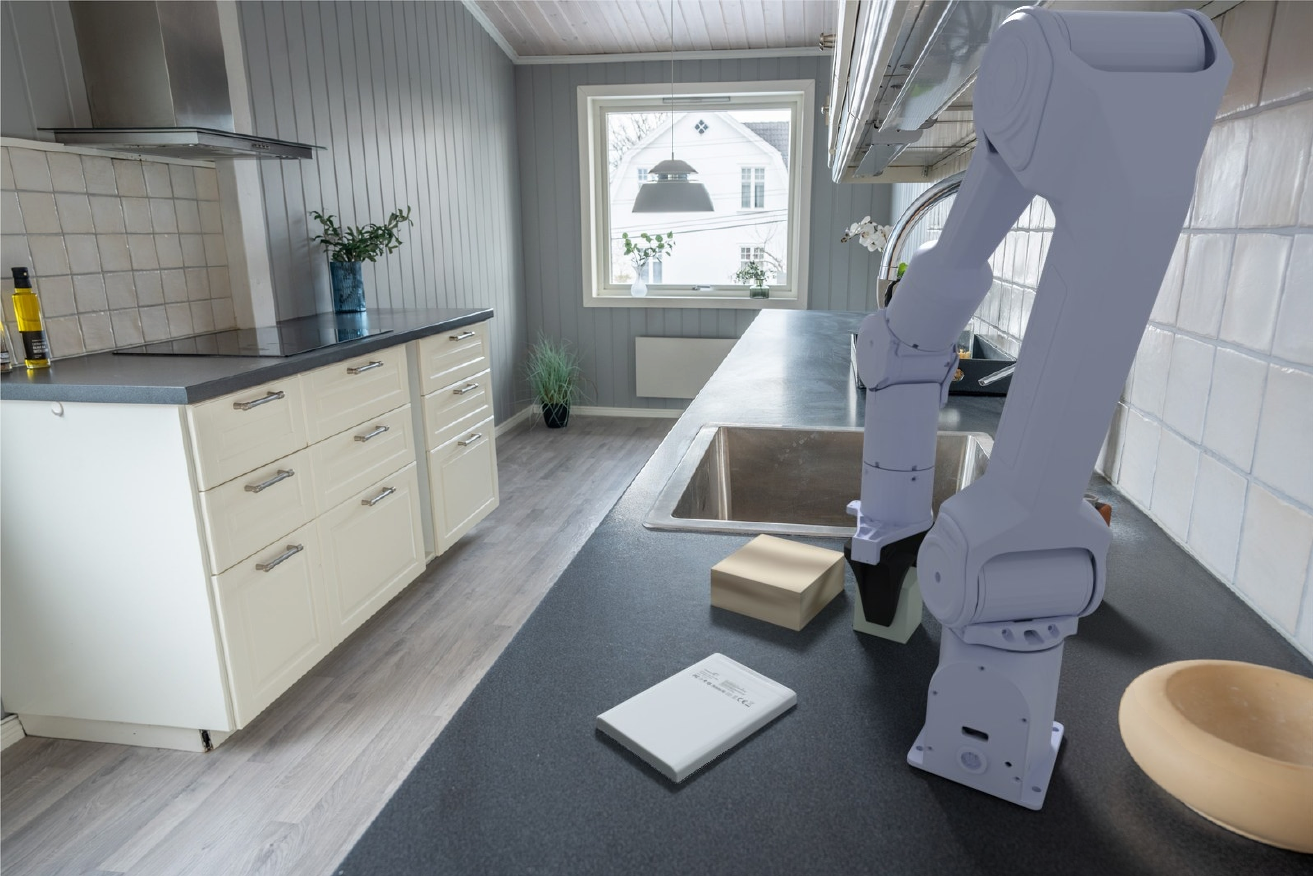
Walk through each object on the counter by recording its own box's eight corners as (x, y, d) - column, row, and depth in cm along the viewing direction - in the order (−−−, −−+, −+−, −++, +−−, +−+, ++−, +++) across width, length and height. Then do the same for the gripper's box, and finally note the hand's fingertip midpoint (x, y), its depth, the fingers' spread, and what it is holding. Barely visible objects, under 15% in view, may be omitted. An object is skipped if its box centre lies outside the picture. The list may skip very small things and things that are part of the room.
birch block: (798, 635, 67) (800, 593, 66) (710, 607, 72) (710, 568, 71) (843, 591, 75) (845, 553, 74) (761, 569, 80) (761, 533, 79)
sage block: (905, 643, 65) (909, 589, 64) (853, 629, 67) (856, 576, 66) (921, 621, 68) (925, 569, 67) (871, 608, 71) (874, 558, 70)
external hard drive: (596, 734, 55) (715, 667, 63) (677, 792, 49) (797, 710, 57) (595, 714, 54) (715, 649, 63) (677, 770, 49) (797, 690, 57)
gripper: (880, 435, 72) (872, 570, 76) (817, 476, 61) (811, 633, 64) (959, 446, 68) (947, 587, 72) (908, 492, 57) (896, 658, 60)
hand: (888, 610), depth 68 cm, fingers closed on sage block, 4 cm apart
